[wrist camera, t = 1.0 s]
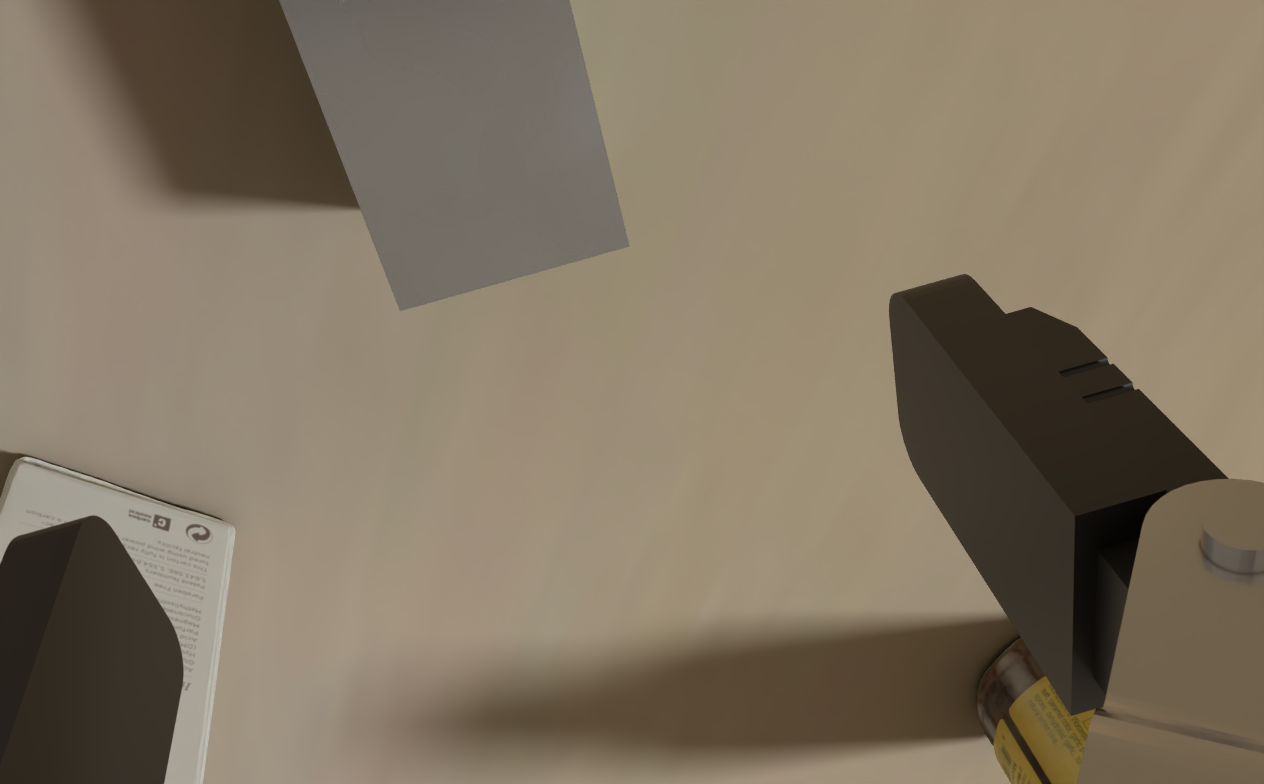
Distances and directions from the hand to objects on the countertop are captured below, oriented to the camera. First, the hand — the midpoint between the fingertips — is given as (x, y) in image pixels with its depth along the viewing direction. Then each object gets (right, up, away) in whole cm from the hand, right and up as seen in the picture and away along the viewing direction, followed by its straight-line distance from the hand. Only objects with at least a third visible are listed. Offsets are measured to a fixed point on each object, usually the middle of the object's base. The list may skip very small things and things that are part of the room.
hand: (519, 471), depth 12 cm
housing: (-3, +9, +13) cm, 17 cm away
